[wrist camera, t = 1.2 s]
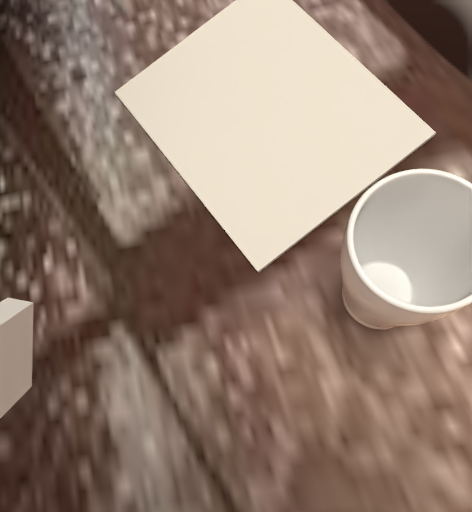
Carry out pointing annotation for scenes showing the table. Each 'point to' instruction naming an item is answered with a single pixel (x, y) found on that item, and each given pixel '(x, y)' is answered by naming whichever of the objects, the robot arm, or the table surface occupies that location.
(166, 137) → the felt placemat
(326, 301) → the table surface
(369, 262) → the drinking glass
